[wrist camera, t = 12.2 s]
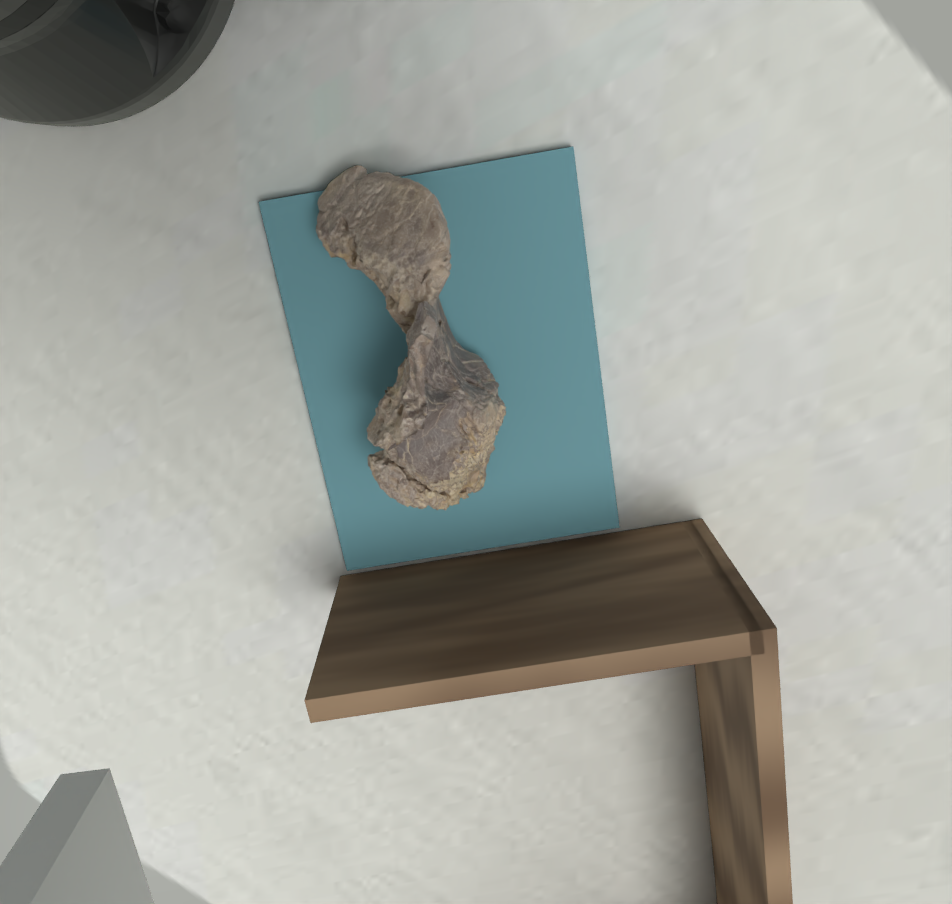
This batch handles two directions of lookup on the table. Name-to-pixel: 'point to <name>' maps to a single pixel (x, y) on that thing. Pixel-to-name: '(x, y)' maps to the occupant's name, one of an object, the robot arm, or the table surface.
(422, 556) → the teal rubber mat
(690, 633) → the walnut cubby
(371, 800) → the table surface
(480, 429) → the rock
